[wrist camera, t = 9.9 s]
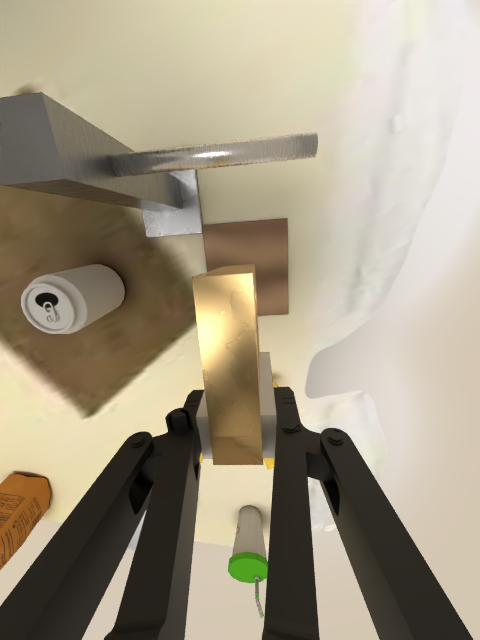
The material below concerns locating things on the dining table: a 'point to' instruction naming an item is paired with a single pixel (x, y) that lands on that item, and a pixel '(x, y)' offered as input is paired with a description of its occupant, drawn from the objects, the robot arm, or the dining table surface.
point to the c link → (230, 362)
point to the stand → (120, 163)
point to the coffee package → (20, 511)
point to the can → (72, 298)
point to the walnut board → (254, 257)
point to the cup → (249, 551)
